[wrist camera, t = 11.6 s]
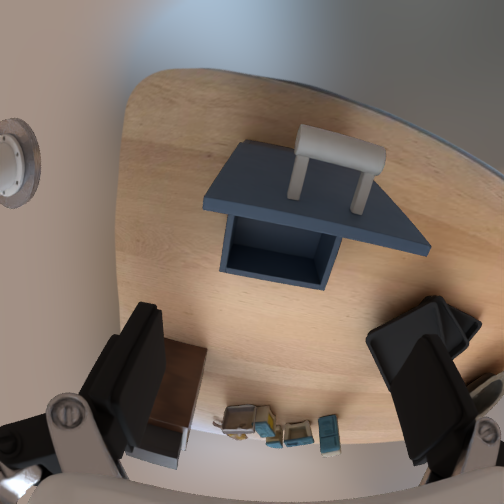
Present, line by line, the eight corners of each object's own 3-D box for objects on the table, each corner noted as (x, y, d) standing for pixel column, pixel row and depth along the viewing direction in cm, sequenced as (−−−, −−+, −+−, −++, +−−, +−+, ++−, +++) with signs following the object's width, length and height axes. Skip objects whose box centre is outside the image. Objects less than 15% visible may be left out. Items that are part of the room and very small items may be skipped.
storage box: (316, 262, 44) (324, 290, 37) (227, 245, 44) (219, 271, 37) (345, 161, 37) (361, 172, 30) (245, 139, 37) (239, 145, 30)
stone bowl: (419, 420, 65) (428, 443, 56) (462, 357, 55) (478, 381, 47) (474, 410, 64) (483, 430, 56) (514, 353, 55) (528, 372, 46)
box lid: (427, 257, 16) (459, 180, 13) (201, 210, 15) (214, 112, 13) (361, 177, 30) (374, 132, 27) (238, 149, 30) (246, 101, 27)
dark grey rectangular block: (134, 432, 41) (126, 454, 36) (130, 417, 38) (121, 442, 34) (182, 445, 41) (176, 469, 37) (183, 432, 38) (177, 459, 34)
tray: (490, 300, 46) (502, 314, 41) (437, 377, 56) (444, 392, 51) (382, 272, 44) (392, 290, 40) (330, 369, 55) (333, 388, 50)
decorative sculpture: (247, 433, 68) (245, 456, 62) (211, 427, 68) (207, 449, 61) (259, 403, 61) (257, 430, 54) (217, 396, 61) (212, 422, 54)
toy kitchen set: (329, 391, 58) (335, 430, 49) (337, 420, 64) (342, 454, 54) (252, 405, 62) (249, 443, 52) (270, 432, 67) (269, 465, 58)
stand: (157, 367, 58) (131, 435, 42) (157, 335, 53) (125, 410, 37) (202, 379, 58) (185, 451, 42) (207, 348, 54) (188, 428, 38)
